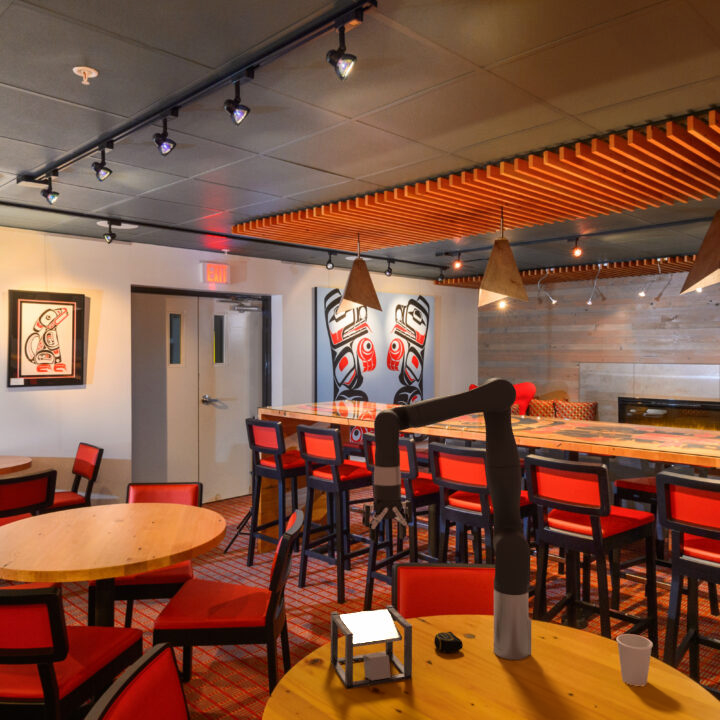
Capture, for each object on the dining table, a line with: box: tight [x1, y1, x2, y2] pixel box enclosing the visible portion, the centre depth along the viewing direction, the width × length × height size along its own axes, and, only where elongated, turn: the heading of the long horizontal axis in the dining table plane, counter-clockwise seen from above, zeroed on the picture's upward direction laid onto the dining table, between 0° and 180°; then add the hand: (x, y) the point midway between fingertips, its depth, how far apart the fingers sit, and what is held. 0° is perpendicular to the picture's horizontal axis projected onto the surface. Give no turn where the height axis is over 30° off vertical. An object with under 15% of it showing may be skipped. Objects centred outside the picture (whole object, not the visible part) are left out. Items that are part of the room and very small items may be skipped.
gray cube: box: [363, 652, 391, 681], centre depth 158 cm, size 5×5×5 cm
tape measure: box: [434, 631, 464, 653], centre depth 174 cm, size 7×7×4 cm
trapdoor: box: [338, 608, 403, 648], centre depth 162 cm, size 13×12×1 cm
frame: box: [330, 604, 413, 690], centre depth 162 cm, size 17×14×13 cm
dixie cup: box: [616, 633, 654, 687], centre depth 157 cm, size 8×8×10 cm
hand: (387, 540), depth 175 cm, fingers open, 8 cm apart
